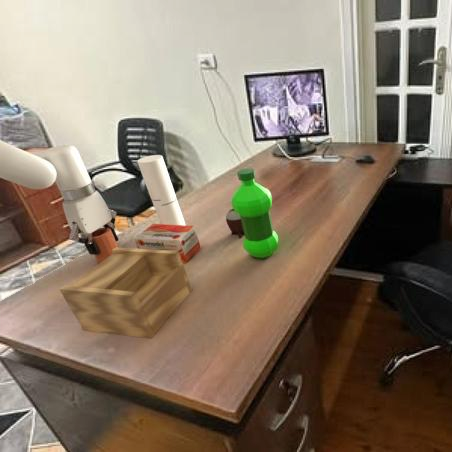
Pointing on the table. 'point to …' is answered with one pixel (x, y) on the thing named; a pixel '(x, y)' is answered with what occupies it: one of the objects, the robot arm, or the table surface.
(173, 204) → the cylindrical container
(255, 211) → the plastic bottle
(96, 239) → the jar
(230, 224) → the mate gourd
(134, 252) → the wooden crate
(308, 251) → the table surface
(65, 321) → the table surface
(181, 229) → the medicine box
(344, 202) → the table surface
